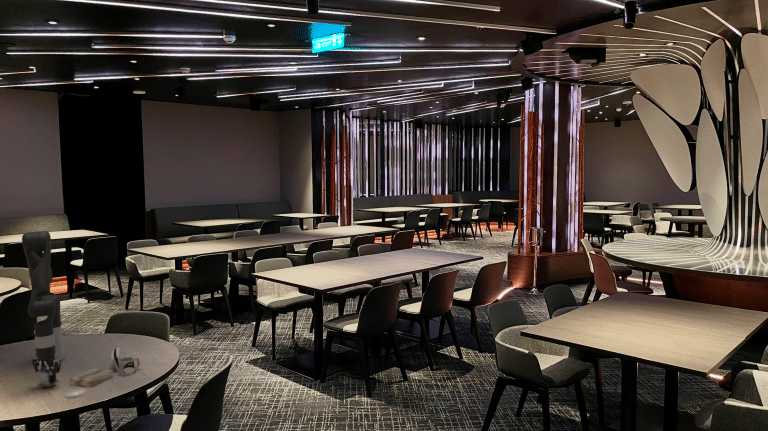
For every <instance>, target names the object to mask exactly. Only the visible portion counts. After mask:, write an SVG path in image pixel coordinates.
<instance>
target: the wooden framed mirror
mask: <svg viewBox="0 0 768 431" xmlns="http://www.w3.org/2000/svg"><path fill="white" fill-rule="evenodd" d="M113 376H114V375H113V370H111V369H98V368H89V369H87V370H85V371H83V372H81V373H78V374H76V375H75V376H72V377H70V378H69V382H70V386H78V387H79V386H81V387H87V388H88V387H89V388H94V387H96V386H98V385H99V384H102V383H104V382H105V381H107V380H109V379H111V378H113Z"/></svg>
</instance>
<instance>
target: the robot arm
mask: <svg viewBox="0 0 768 431" xmlns="http://www.w3.org/2000/svg"><path fill="white" fill-rule="evenodd" d="M21 243H22V244H21V245H22V248H23V251H24V255H25V258H26V263H27V268H28V276H29V279H30V284H31V286H30V287H31V295H30V300H29V303H28V306H27V314H28V316H29V317H31V318H39V317H46V318H45V319H43V320H39V321H37V322H35V323H34V325H33V326H34V328H33V329H34V346H35V347H34V348H35V358H33V359H31V363H32V366H33V369H34V372H35V373H37V371H38V370H39V369H44V368H47V370H48V371H50V383H54V382H55V381H56V378H57V374H58V373H60V371H61V366H62V361H63V360H64V359H65V357H64V356H65V355H64V341H63V329H62V316H61V298H60V296H59V294H50V293H51V284H52V282H53V269H52V267H51V259H52V258H51V257H52V237H51V234H50V232H49V231H47V230H40V231H29V232H24V233H23V234H22V236H21ZM38 252H42V257H40V256H39V255H37V253H38ZM50 367H51V368H50ZM52 369H54V370H53V372H52Z"/></svg>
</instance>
